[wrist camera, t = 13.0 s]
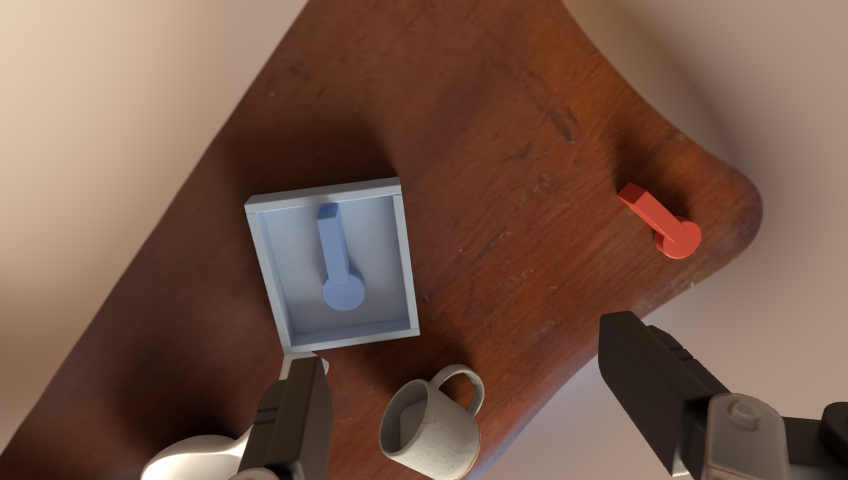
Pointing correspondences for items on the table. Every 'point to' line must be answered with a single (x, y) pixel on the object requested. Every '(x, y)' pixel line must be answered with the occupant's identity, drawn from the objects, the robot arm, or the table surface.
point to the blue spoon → (338, 263)
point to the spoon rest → (207, 450)
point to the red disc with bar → (663, 222)
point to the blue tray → (306, 270)
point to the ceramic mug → (433, 427)
